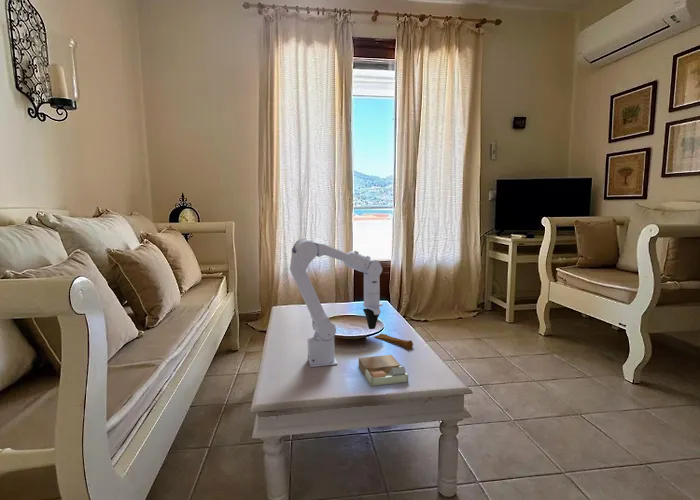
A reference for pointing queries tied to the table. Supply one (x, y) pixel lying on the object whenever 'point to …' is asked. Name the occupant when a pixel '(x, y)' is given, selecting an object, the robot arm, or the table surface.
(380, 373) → the terracotta tile
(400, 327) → the table surface
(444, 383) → the table surface
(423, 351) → the table surface
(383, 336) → the primitive tool
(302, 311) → the table surface
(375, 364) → the walnut board
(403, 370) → the slate tile
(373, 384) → the tray
